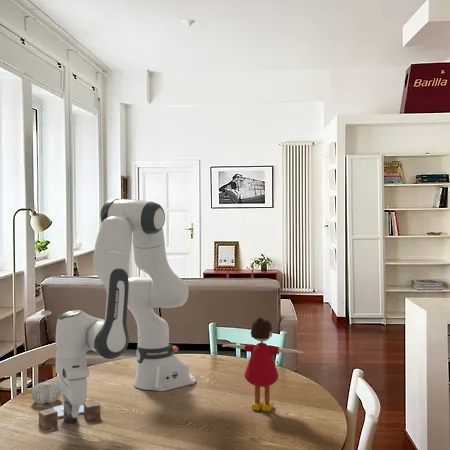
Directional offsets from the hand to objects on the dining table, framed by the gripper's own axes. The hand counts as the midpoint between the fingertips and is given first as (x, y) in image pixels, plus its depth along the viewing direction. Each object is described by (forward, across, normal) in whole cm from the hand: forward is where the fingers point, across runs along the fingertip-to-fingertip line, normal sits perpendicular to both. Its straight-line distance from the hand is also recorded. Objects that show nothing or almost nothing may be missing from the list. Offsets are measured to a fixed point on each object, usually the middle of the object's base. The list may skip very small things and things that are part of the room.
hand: (71, 411), depth 159 cm
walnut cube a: (+3, -1, +7) cm, 7 cm away
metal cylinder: (+3, -1, 0) cm, 3 cm away
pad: (+3, -9, +2) cm, 9 cm away
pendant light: (+3, -21, -3) cm, 21 cm away
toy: (+3, +20, +55) cm, 58 cm away
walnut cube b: (+3, -1, -6) cm, 7 cm away
